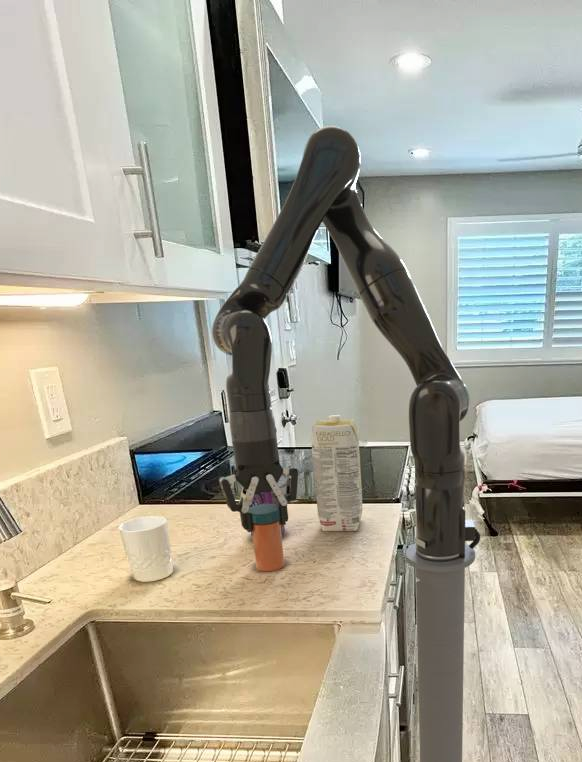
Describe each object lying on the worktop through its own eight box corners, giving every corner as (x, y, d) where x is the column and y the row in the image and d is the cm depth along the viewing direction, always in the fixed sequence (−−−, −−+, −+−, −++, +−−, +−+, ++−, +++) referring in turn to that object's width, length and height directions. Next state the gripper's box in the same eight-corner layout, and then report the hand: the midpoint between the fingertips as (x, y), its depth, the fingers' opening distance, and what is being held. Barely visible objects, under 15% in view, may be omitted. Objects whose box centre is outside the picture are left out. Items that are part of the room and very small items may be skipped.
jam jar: (287, 559, 109) (281, 507, 105) (281, 571, 104) (274, 516, 100) (260, 560, 109) (253, 507, 105) (253, 571, 105) (245, 517, 101)
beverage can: (247, 534, 122) (240, 480, 118) (280, 528, 125) (273, 475, 121) (256, 545, 116) (248, 488, 112) (289, 538, 119) (283, 483, 115)
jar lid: (245, 517, 104) (243, 507, 104) (275, 511, 107) (274, 501, 106) (253, 526, 100) (252, 516, 99) (284, 520, 102) (283, 510, 101)
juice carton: (364, 519, 128) (358, 412, 119) (361, 532, 121) (354, 419, 112) (323, 520, 129) (313, 413, 120) (317, 533, 122) (307, 420, 113)
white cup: (183, 573, 105) (174, 522, 101) (140, 587, 100) (128, 534, 96) (165, 561, 110) (155, 512, 106) (123, 574, 105) (111, 524, 101)
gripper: (287, 427, 104) (296, 514, 110) (206, 437, 97) (221, 529, 104) (301, 433, 98) (310, 525, 104) (216, 444, 91) (231, 542, 98)
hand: (265, 527), depth 104 cm, fingers closed on jar lid, 5 cm apart
